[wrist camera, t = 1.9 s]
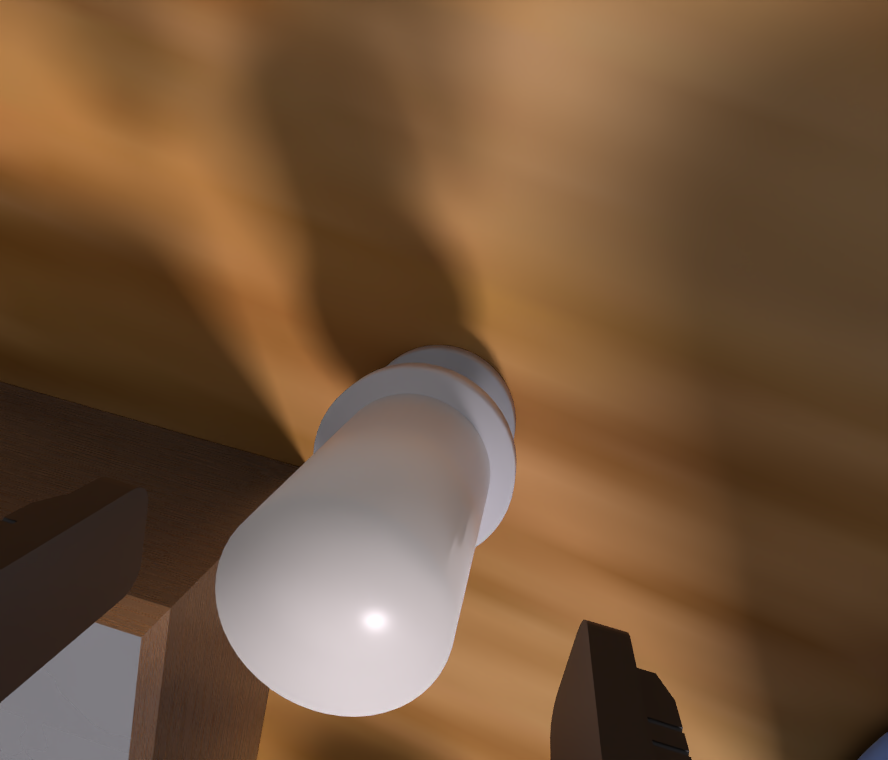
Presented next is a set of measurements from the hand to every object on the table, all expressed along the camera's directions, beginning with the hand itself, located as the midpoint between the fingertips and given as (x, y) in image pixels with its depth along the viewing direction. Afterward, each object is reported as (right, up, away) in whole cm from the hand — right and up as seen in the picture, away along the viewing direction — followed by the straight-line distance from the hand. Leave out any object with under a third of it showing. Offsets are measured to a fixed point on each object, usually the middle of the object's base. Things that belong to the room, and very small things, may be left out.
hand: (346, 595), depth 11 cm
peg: (+2, +3, +9) cm, 10 cm away
